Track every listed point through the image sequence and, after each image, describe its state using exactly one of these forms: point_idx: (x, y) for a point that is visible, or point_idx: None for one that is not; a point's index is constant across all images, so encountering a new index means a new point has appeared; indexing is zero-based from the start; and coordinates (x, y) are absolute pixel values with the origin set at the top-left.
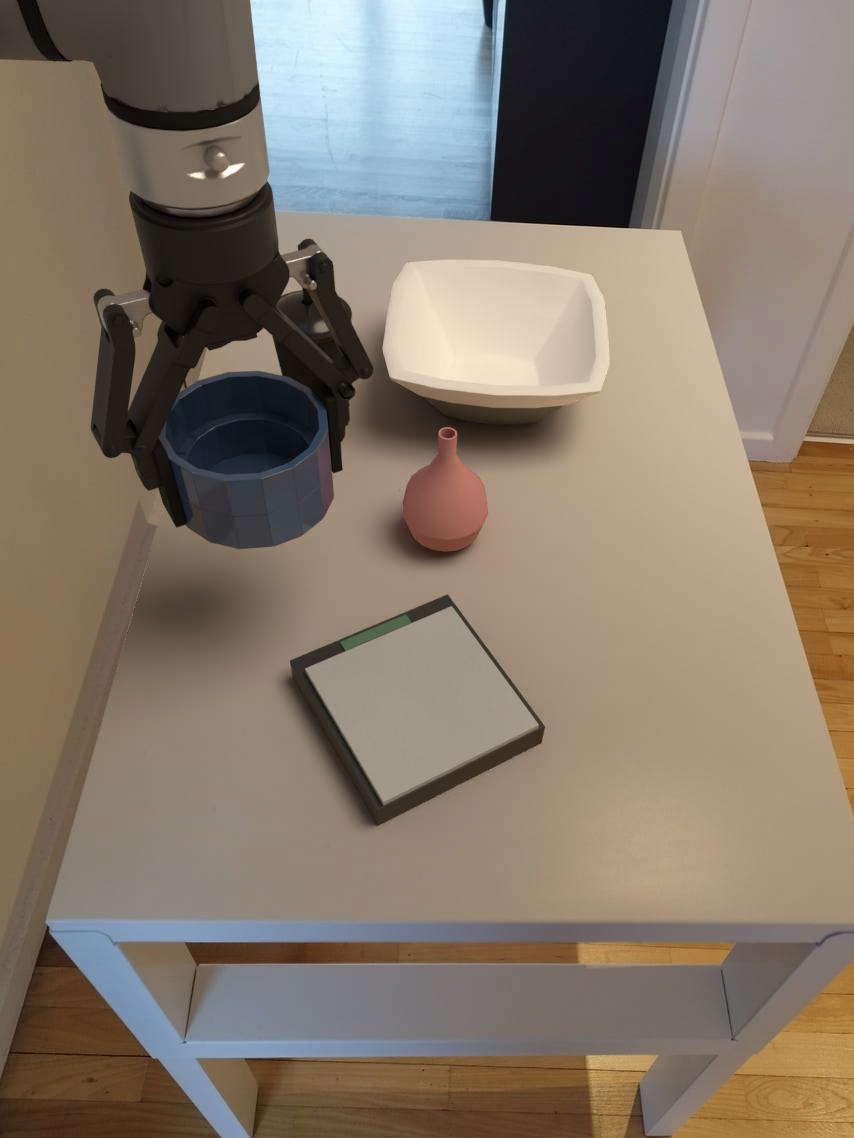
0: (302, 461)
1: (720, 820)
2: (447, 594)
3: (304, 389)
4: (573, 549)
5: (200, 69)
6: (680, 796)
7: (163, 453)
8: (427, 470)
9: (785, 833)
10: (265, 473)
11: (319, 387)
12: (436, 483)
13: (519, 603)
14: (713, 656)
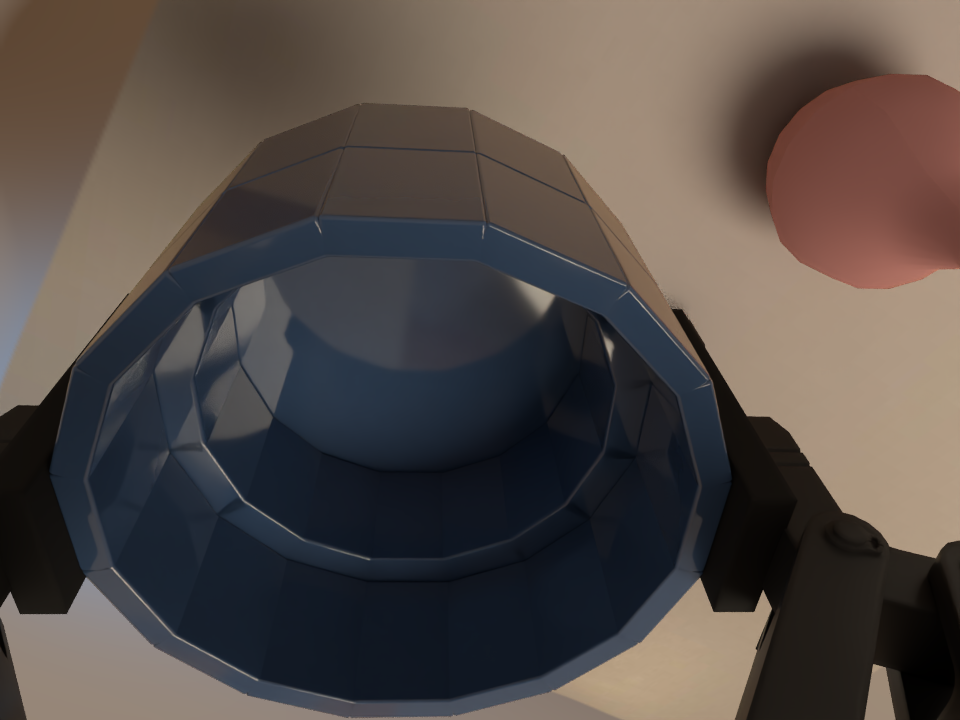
0: (492, 706)
1: (719, 674)
2: (704, 345)
3: (710, 468)
4: None
5: None
6: (710, 645)
7: (52, 613)
8: (909, 198)
9: None
10: (371, 707)
11: (749, 543)
12: (888, 243)
13: (799, 361)
14: (921, 548)
